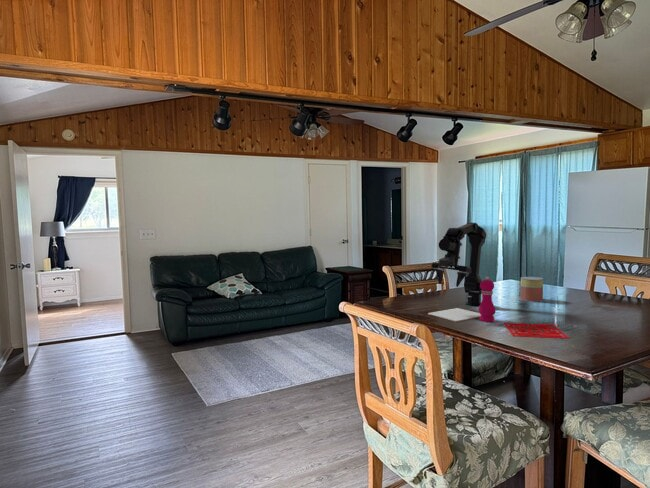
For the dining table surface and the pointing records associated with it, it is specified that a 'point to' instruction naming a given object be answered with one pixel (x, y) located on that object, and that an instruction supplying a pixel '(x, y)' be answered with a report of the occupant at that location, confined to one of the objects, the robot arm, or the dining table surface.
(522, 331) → the maze puzzle
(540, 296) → the canned food
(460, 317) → the grey mat
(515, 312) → the dining table surface
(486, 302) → the pepper mill
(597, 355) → the dining table surface
